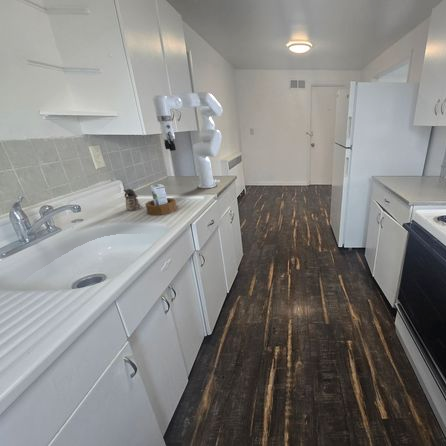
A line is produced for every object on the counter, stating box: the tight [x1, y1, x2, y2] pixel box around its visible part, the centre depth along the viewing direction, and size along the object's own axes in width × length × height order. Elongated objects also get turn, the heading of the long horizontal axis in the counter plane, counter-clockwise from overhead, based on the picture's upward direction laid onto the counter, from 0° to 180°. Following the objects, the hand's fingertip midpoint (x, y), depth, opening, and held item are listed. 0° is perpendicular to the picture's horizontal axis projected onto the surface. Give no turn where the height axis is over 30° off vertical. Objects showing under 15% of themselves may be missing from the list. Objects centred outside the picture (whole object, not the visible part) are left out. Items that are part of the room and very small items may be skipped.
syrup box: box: [149, 183, 168, 205], centre depth 140 cm, size 6×6×14 cm
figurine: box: [123, 188, 142, 212], centre depth 144 cm, size 7×7×12 cm
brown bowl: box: [144, 197, 178, 216], centre depth 142 cm, size 15×15×5 cm
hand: (170, 149), depth 153 cm, fingers open, 9 cm apart
